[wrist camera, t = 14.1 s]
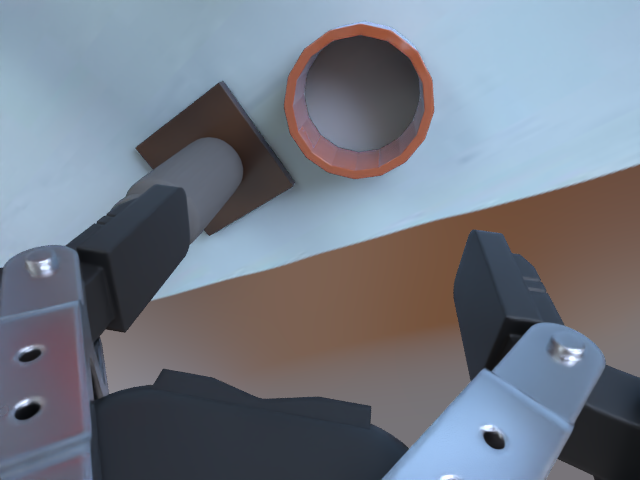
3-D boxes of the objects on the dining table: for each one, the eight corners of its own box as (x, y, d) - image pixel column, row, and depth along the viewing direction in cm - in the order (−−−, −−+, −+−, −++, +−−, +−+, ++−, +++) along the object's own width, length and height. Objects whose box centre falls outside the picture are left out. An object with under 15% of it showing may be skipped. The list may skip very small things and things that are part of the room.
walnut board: (140, 145, 40) (134, 148, 39) (223, 80, 36) (219, 82, 35) (212, 231, 44) (209, 236, 43) (295, 182, 40) (293, 186, 39)
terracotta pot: (272, 74, 35) (256, 84, 31) (386, -10, 31) (385, -12, 27) (341, 179, 39) (335, 201, 35) (451, 116, 35) (459, 132, 31)
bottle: (213, 205, 41) (133, 297, 28) (172, 158, 39) (66, 233, 27) (256, 175, 39) (191, 260, 26) (215, 123, 37) (123, 188, 24)
